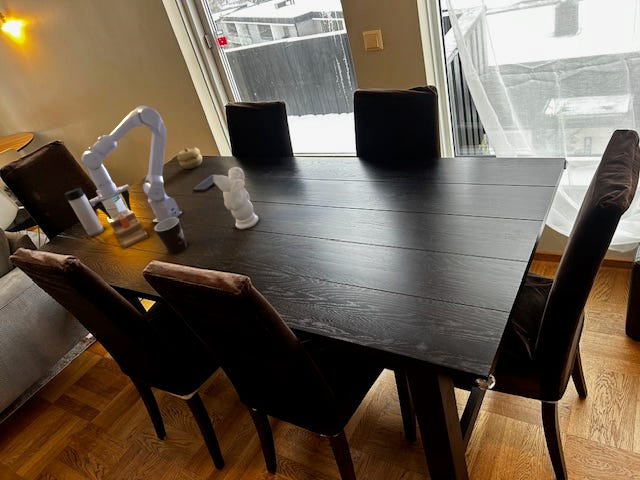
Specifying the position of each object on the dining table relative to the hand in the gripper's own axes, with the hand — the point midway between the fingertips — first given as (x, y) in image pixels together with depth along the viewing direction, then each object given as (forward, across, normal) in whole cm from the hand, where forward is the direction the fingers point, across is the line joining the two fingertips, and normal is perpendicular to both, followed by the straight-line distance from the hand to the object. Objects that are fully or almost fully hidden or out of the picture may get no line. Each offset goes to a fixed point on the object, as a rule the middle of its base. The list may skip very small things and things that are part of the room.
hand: (120, 214), depth 172 cm
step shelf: (+9, 0, 0) cm, 9 cm away
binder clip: (+5, 0, 0) cm, 5 cm away
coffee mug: (+10, +12, -29) cm, 33 cm away
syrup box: (+9, +1, +23) cm, 25 cm away
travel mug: (+9, -11, +17) cm, 22 cm away
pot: (+10, +43, +46) cm, 64 cm away
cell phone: (+9, +40, +15) cm, 44 cm away
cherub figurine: (+10, +35, -38) cm, 52 cm away
